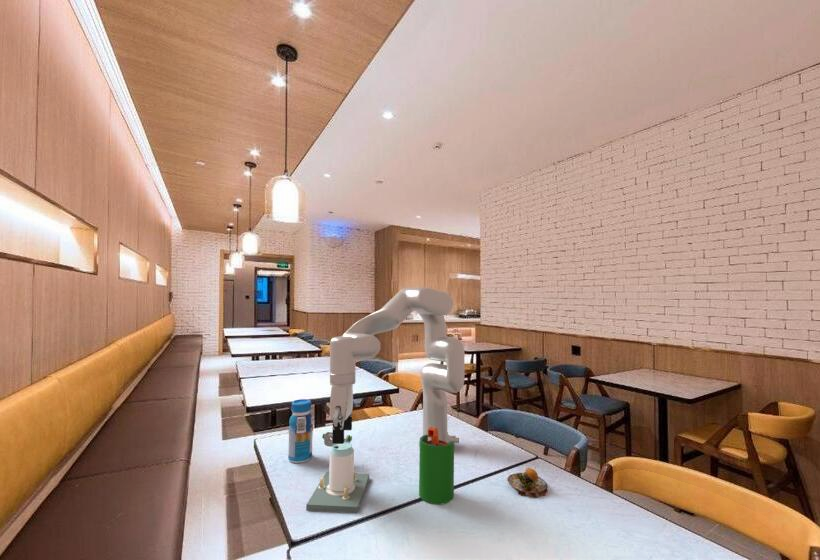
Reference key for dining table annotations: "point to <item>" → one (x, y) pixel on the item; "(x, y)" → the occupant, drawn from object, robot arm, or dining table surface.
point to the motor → (436, 469)
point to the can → (341, 467)
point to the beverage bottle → (300, 432)
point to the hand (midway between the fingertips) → (342, 436)
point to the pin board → (338, 495)
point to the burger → (528, 483)
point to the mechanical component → (330, 442)
